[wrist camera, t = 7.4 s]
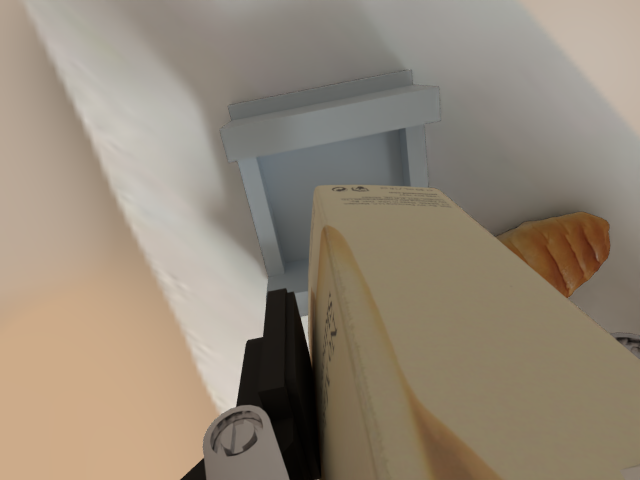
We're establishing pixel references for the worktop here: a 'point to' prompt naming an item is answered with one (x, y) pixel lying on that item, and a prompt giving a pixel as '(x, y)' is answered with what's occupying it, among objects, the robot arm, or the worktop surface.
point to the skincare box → (453, 351)
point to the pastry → (561, 248)
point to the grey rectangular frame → (324, 157)
